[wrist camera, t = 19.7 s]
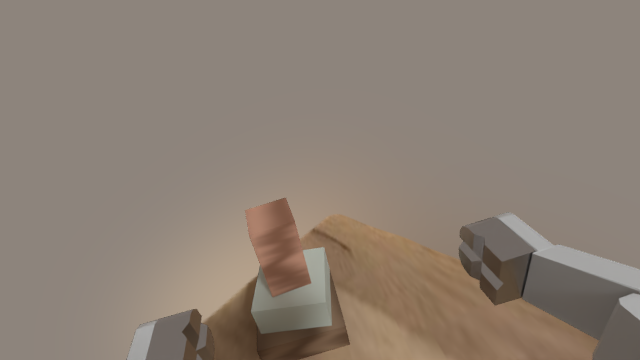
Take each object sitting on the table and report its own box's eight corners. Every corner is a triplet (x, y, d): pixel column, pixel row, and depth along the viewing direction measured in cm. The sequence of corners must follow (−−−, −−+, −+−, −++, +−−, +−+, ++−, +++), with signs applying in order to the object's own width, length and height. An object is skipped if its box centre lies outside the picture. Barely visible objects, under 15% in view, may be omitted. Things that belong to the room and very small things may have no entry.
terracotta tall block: (272, 297, 39) (249, 235, 33) (266, 268, 43) (245, 210, 38) (311, 283, 39) (294, 221, 34) (302, 256, 44) (285, 197, 38)
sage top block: (261, 333, 40) (250, 311, 37) (270, 277, 47) (261, 256, 45) (332, 325, 39) (325, 302, 37) (329, 269, 47) (324, 247, 44)
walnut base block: (267, 370, 40) (257, 351, 38) (264, 300, 50) (256, 281, 47) (350, 346, 41) (345, 325, 39) (332, 281, 50) (327, 261, 48)
